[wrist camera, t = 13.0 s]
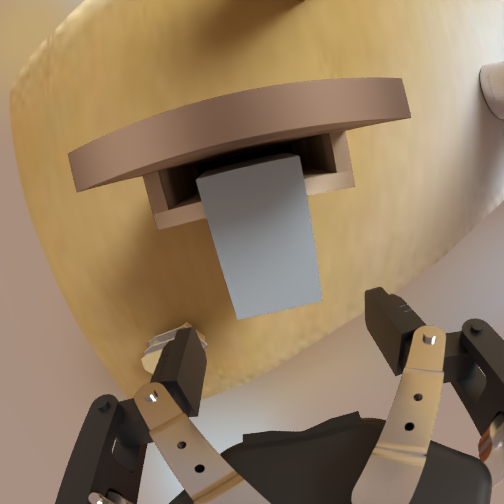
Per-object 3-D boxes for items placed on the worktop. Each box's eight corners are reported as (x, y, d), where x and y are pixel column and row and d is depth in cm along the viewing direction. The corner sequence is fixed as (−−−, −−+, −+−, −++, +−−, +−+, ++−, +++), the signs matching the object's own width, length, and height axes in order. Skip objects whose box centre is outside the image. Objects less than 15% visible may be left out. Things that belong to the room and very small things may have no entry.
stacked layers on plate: (178, 294, 32) (168, 319, 27) (230, 339, 34) (228, 368, 29) (133, 335, 34) (120, 360, 29) (181, 373, 36) (174, 400, 31)
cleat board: (298, 128, 26) (401, 78, 7) (307, 173, 27) (422, 210, 9) (183, 153, 26) (67, 153, 8) (195, 198, 28) (106, 279, 9)
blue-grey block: (275, 150, 23) (299, 155, 13) (296, 251, 26) (323, 310, 17) (213, 164, 23) (195, 179, 14) (240, 264, 27) (240, 329, 18)
